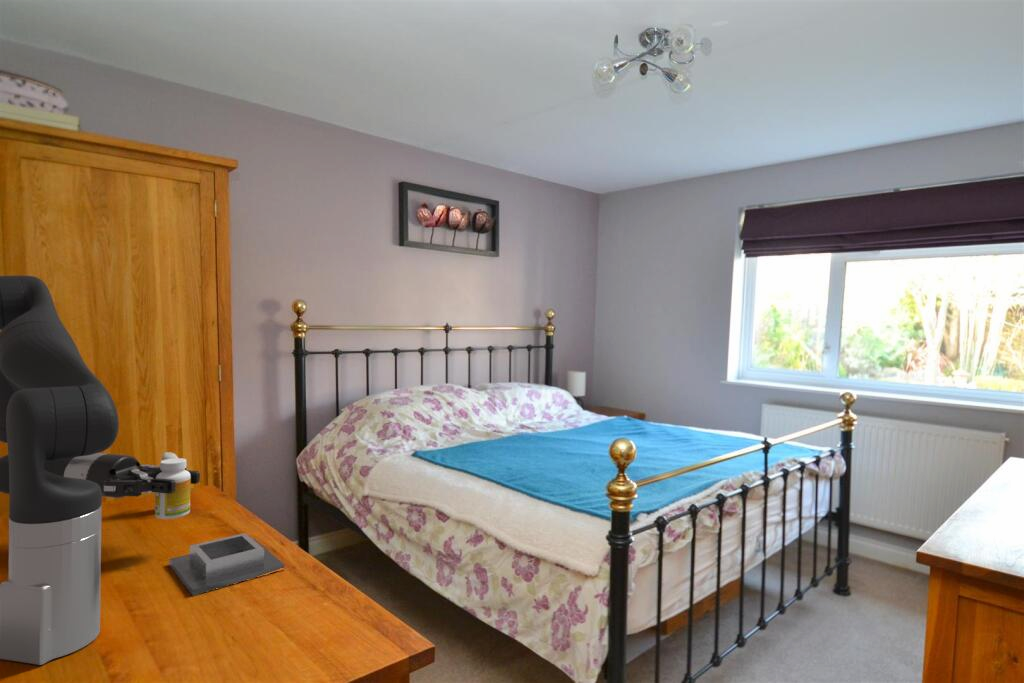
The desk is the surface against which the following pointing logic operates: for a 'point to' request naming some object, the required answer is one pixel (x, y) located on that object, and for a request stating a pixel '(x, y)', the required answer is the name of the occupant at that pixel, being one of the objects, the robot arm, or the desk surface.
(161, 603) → the desk surface
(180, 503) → the supplement bottle
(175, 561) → the socket plate
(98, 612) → the robot arm
